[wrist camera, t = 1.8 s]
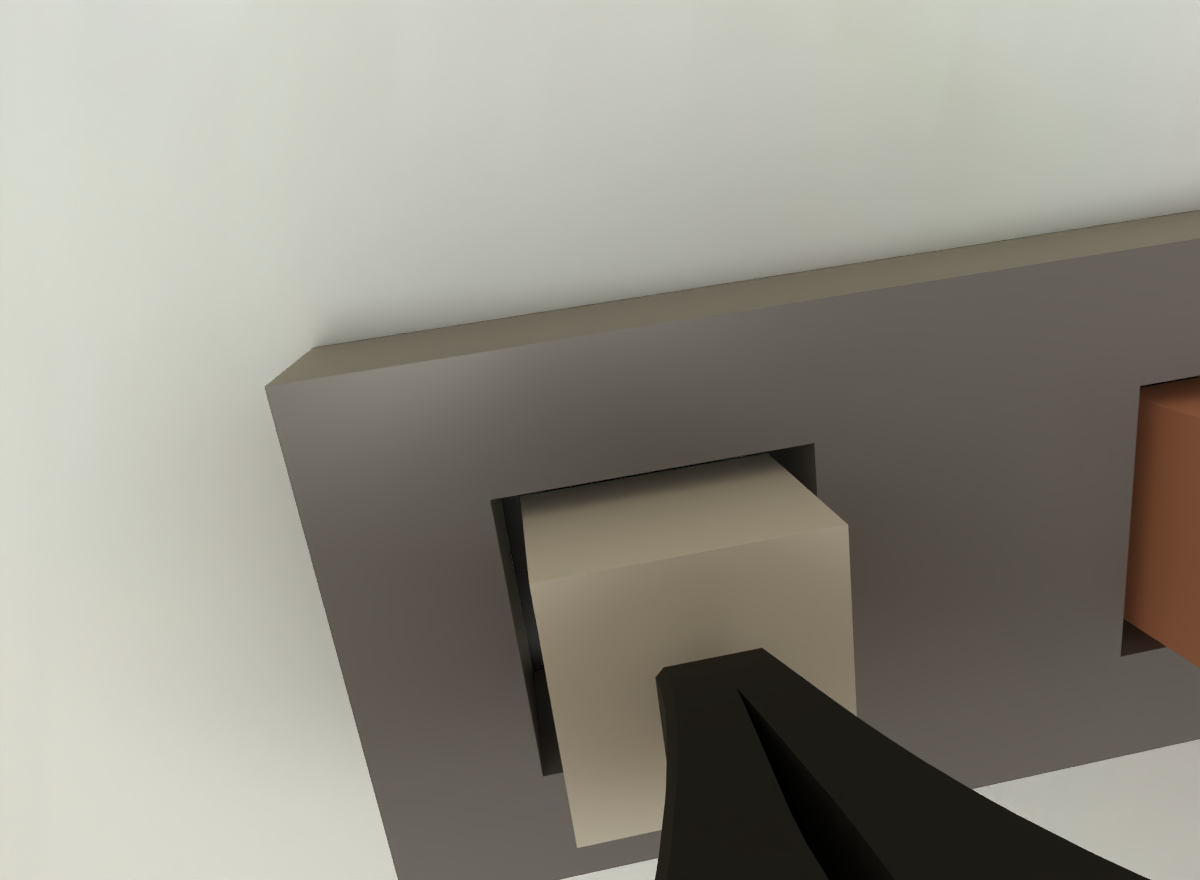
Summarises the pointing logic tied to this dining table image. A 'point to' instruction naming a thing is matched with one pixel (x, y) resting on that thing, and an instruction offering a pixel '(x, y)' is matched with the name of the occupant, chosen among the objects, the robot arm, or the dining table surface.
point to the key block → (807, 451)
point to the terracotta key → (1166, 519)
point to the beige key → (674, 612)
